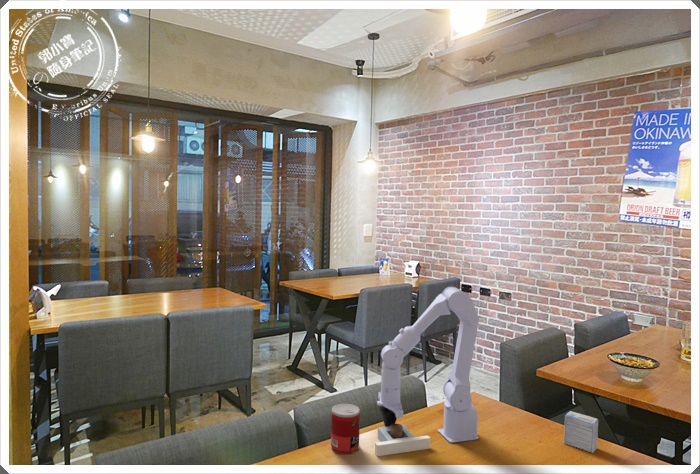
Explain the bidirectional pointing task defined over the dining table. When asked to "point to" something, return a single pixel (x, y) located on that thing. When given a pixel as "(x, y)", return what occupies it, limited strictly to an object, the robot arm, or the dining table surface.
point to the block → (385, 433)
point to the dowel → (396, 431)
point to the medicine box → (581, 431)
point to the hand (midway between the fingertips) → (389, 431)
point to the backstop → (402, 445)
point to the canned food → (345, 428)
